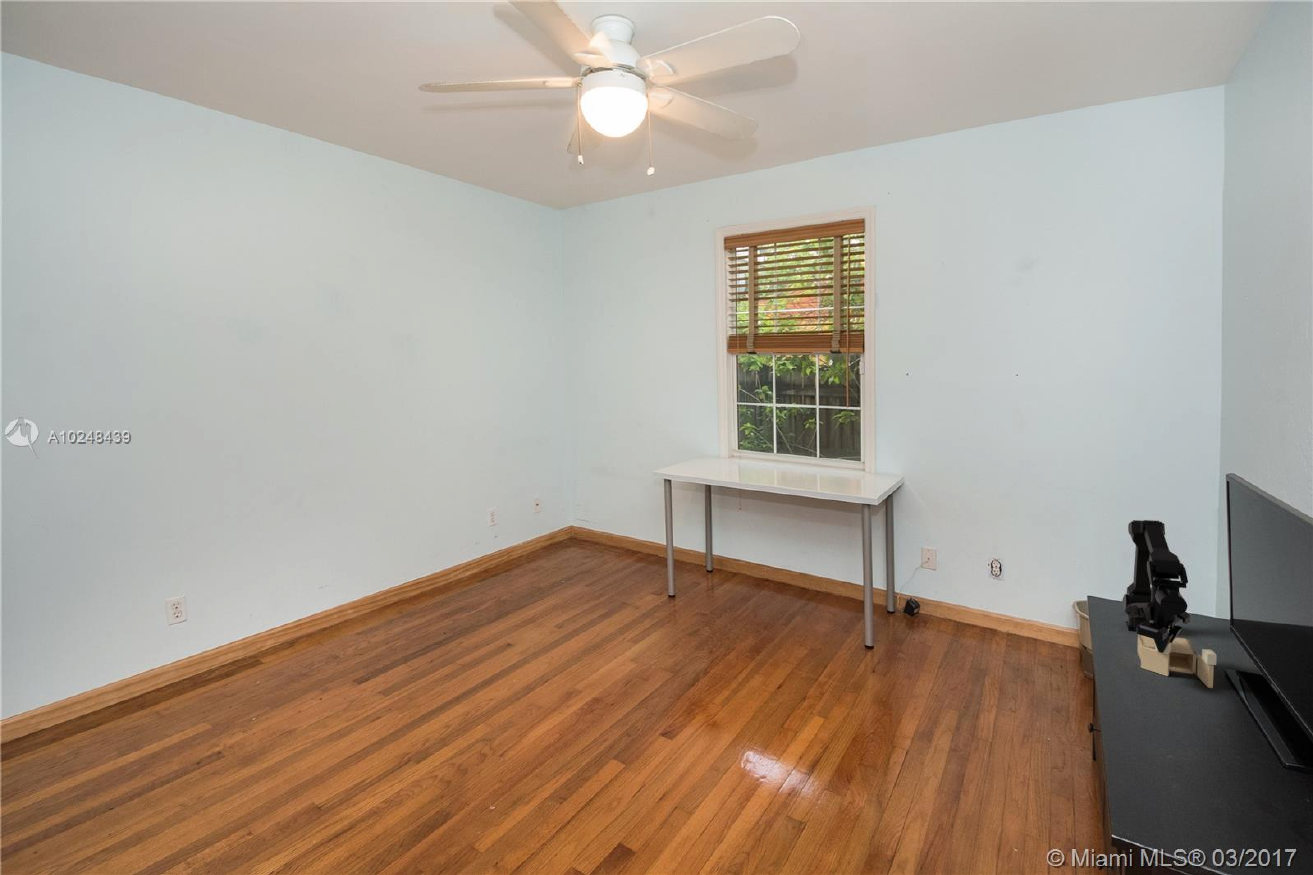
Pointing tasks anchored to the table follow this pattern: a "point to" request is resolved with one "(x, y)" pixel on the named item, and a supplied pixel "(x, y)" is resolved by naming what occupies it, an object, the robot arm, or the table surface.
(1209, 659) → the flap open
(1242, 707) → the table surface
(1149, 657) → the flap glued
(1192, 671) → the carton
